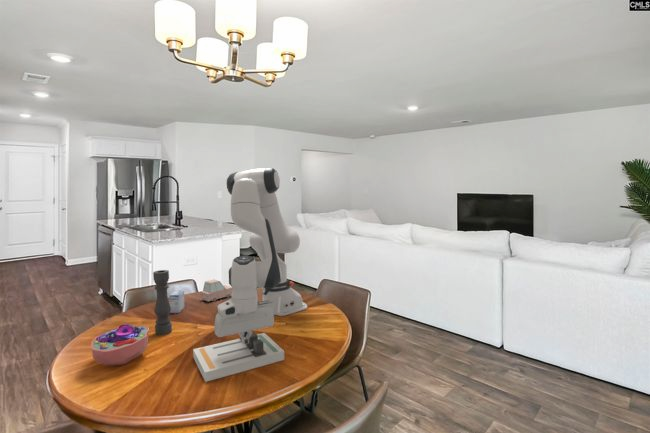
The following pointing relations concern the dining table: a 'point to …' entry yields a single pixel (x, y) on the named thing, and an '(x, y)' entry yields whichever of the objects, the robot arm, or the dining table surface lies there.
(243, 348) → the panel
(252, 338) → the breaker
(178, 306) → the medicine box
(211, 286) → the toy car
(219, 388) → the dining table surface
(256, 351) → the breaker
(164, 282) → the candle holder
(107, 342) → the cell model
